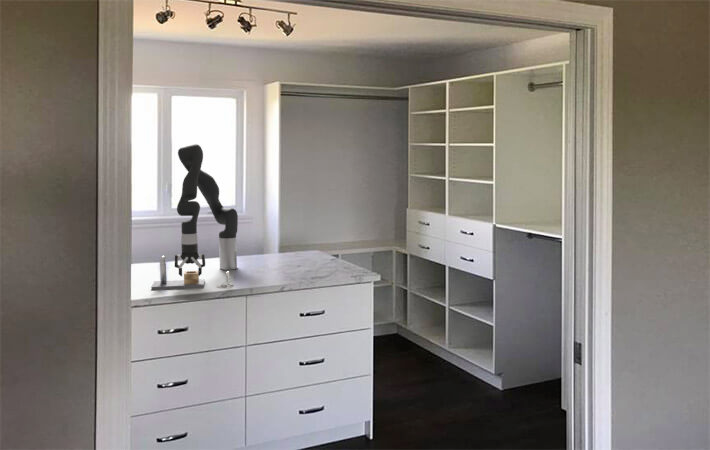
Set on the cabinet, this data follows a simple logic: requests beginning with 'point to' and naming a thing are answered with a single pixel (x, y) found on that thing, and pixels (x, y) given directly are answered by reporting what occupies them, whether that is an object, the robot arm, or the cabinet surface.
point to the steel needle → (163, 270)
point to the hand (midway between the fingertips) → (190, 275)
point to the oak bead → (191, 277)
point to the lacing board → (176, 285)
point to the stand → (227, 282)
